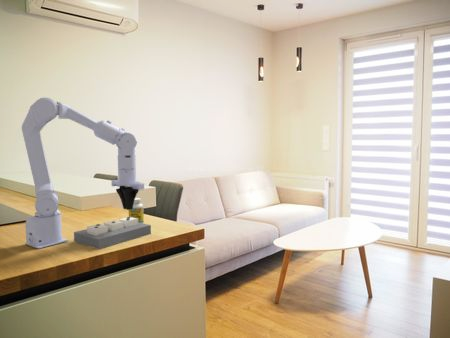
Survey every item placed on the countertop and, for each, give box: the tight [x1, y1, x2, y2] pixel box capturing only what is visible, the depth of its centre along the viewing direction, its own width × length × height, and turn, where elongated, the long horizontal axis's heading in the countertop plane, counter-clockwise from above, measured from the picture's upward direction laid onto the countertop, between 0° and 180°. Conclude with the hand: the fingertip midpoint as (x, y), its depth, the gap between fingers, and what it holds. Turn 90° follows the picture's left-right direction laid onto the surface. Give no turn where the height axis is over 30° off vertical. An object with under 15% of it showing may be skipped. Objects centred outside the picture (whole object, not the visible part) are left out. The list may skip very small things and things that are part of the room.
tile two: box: [86, 223, 108, 236], centre depth 110 cm, size 4×4×3 cm
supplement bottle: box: [128, 197, 145, 224], centre depth 133 cm, size 5×5×10 cm
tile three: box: [118, 216, 138, 227], centre depth 120 cm, size 4×4×3 cm
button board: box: [73, 222, 152, 250], centre depth 116 cm, size 20×13×3 cm, turn 144°
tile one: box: [103, 219, 124, 231], centre depth 115 cm, size 4×4×3 cm
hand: (128, 209), depth 120 cm, fingers closed
